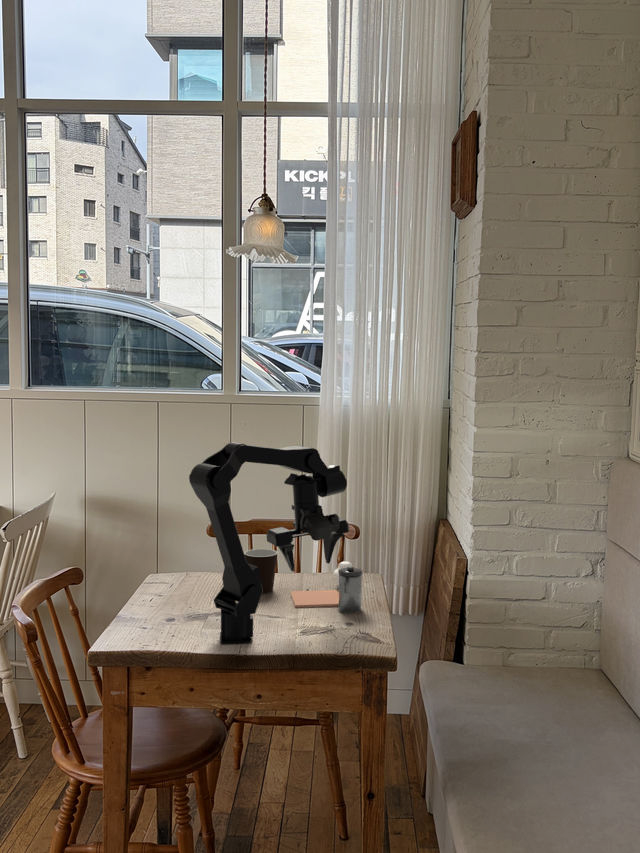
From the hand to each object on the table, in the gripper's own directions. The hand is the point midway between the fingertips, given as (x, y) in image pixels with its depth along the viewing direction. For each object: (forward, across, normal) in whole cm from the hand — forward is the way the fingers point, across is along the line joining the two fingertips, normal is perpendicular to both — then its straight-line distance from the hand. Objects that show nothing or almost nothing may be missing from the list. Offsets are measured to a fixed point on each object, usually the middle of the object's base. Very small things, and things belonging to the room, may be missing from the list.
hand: (310, 567), depth 192 cm
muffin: (+15, +20, +20) cm, 32 cm away
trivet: (+13, +8, +13) cm, 20 cm away
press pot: (+14, +11, +2) cm, 18 cm away
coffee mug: (+13, -1, +28) cm, 31 cm away
